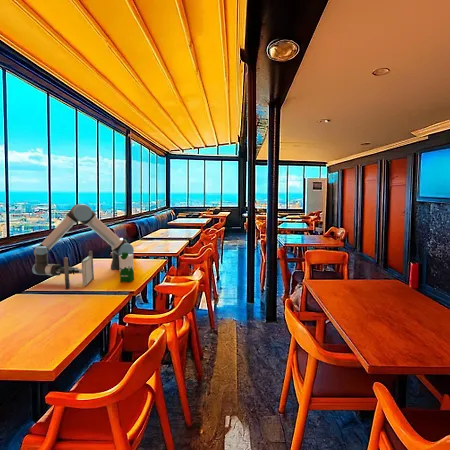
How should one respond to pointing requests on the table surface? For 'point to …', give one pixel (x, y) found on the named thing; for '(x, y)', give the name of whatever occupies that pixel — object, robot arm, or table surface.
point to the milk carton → (126, 267)
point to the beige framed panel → (87, 270)
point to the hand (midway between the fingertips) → (84, 271)
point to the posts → (68, 270)
